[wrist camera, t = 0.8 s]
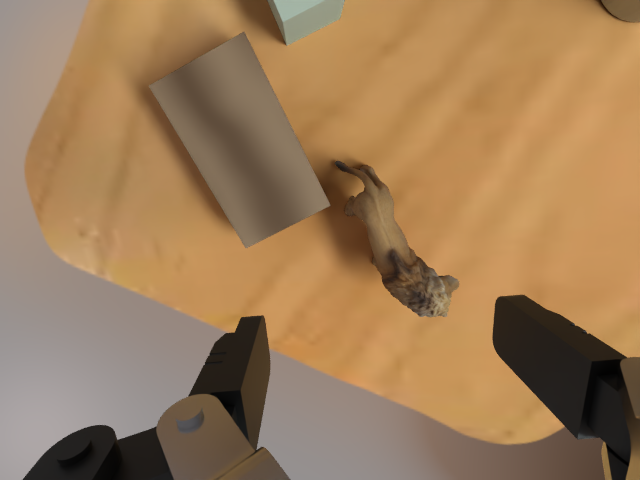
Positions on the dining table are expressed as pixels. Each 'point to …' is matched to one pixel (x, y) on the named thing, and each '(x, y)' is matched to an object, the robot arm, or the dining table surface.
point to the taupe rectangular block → (241, 140)
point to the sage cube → (304, 16)
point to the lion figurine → (397, 250)
